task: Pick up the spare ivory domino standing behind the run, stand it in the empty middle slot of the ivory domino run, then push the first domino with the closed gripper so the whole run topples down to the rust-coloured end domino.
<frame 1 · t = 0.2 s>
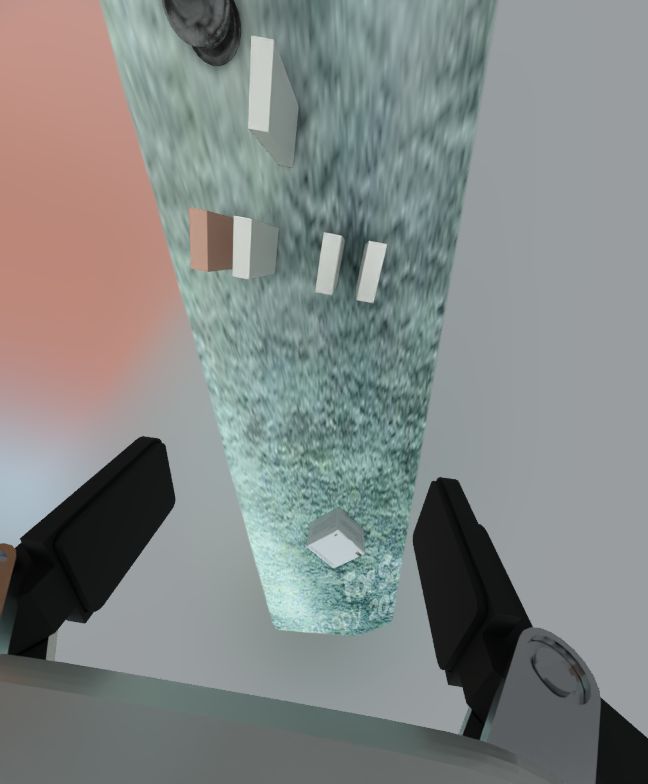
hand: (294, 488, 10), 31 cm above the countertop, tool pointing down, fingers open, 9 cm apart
domino 1: (366, 268, 35), on the countertop
domino 2: (334, 262, 35), on the countertop
domino 4: (270, 250, 35), on the countertop
dark grey ornamental finial: (214, 28, 27), on the countertop
end domino: (238, 244, 35), on the countertop
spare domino: (288, 136, 30), on the countertop
small box: (336, 525, 55), on the countertop
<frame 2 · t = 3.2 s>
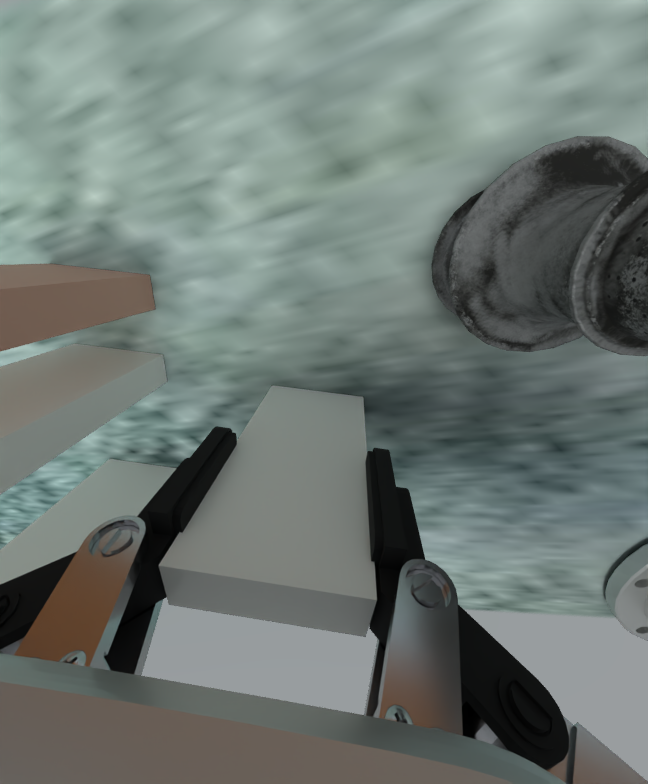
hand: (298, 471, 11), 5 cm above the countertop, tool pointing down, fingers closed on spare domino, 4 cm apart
domino 2: (147, 473, 19), on the countertop
domino 4: (121, 362, 16), on the countertop
dark grey ornamental finial: (495, 258, 12), on the countertop
end domino: (103, 286, 14), on the countertop
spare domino: (316, 403, 16), on the countertop, touching gripper
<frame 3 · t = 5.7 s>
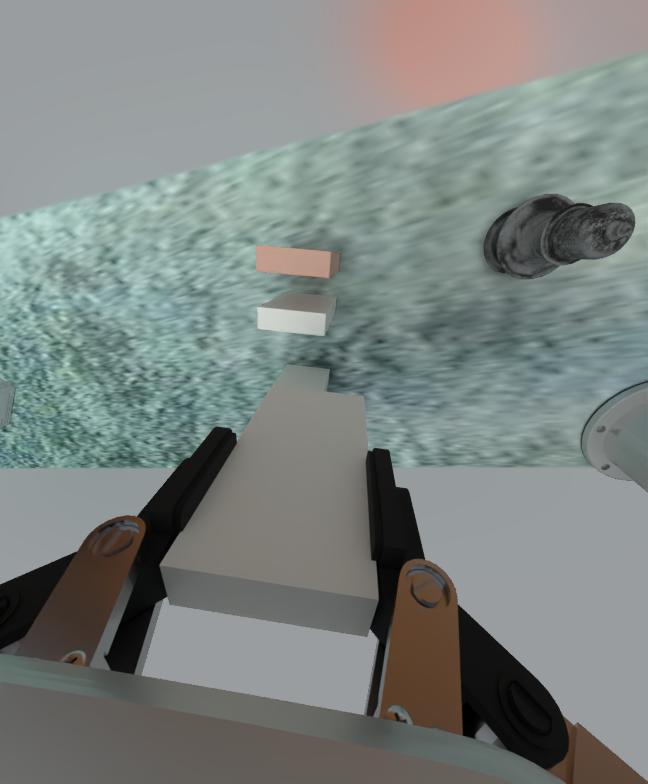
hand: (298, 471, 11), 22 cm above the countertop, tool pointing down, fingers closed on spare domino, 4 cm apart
domino 2: (308, 373, 33), on the countertop
domino 4: (312, 302, 30), on the countertop
dark grey ornamental finial: (514, 241, 25), on the countertop
end domino: (314, 260, 28), on the countertop
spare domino: (316, 403, 16), point 17 cm above the countertop, touching gripper
when the fingers open (6 cm above the countertop, at t = 8.3 s): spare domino stays where it is, on the countertop.
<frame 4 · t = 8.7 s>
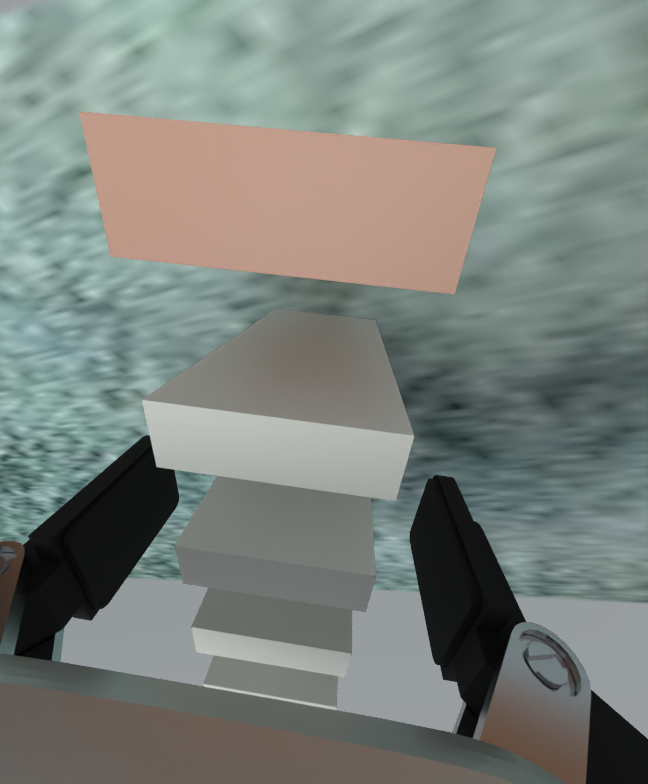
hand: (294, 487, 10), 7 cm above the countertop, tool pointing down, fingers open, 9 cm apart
domino 1: (307, 500, 20), on the countertop
domino 2: (311, 454, 18), on the countertop
domino 4: (323, 330, 14), on the countertop
end domino: (332, 241, 13), on the countertop
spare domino: (317, 399, 16), on the countertop
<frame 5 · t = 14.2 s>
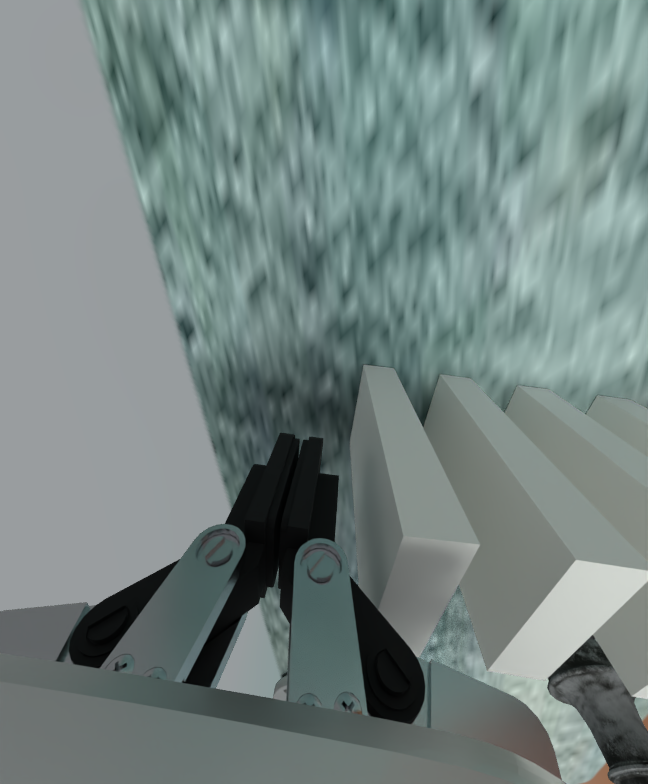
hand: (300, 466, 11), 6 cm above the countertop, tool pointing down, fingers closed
domino 1: (370, 407, 16), on the countertop, touching gripper
domino 2: (441, 417, 16), on the countertop
domino 4: (588, 437, 15), on the countertop
dark grey ornamental finial: (559, 626, 23), on the countertop
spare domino: (513, 427, 16), on the countertop
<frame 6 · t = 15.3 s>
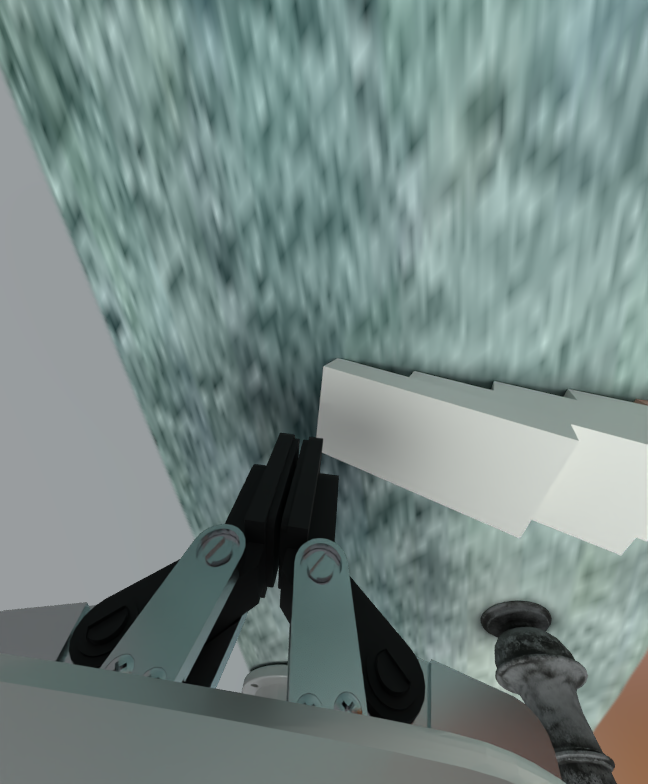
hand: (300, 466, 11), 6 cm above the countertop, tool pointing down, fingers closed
domino 1: (326, 405, 15), point 1 cm above the countertop, tilted 66°
domino 2: (400, 418, 15), point 1 cm above the countertop, tilted 66°, touching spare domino
domino 4: (550, 436, 15), point 1 cm above the countertop, tilted 71°, touching end domino, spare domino
dark grey ornamental finial: (513, 616, 23), on the countertop
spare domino: (477, 428, 15), point 1 cm above the countertop, tilted 66°, touching domino 2, domino 4
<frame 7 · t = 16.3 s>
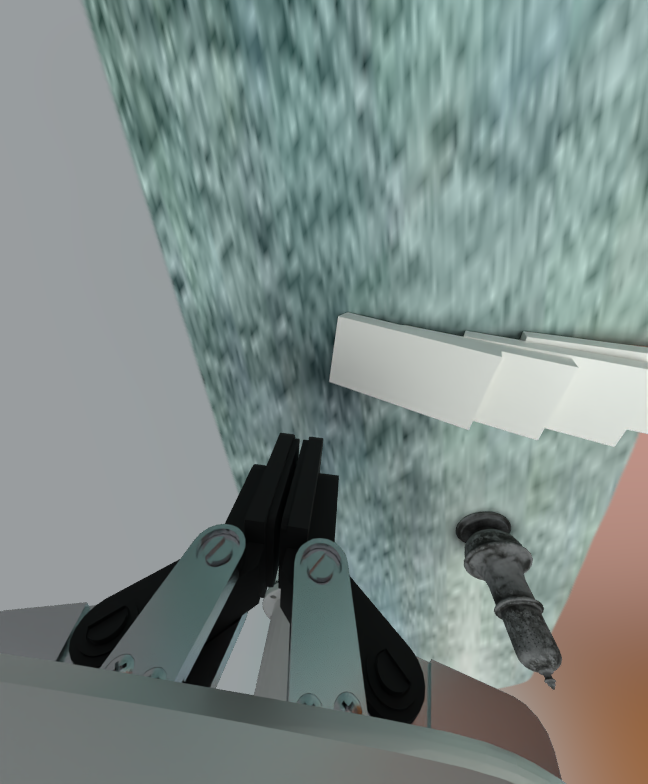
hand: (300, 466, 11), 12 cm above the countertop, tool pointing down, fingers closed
domino 1: (338, 347, 21), point 1 cm above the countertop, tilted 68°, touching domino 2
domino 2: (393, 360, 21), point 1 cm above the countertop, tilted 68°, touching domino 1
domino 4: (511, 367, 20), point 1 cm above the countertop, tilted 71°, touching end domino
dark grey ornamental finial: (481, 527, 30), on the countertop
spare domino: (454, 366, 21), point 1 cm above the countertop, tilted 68°
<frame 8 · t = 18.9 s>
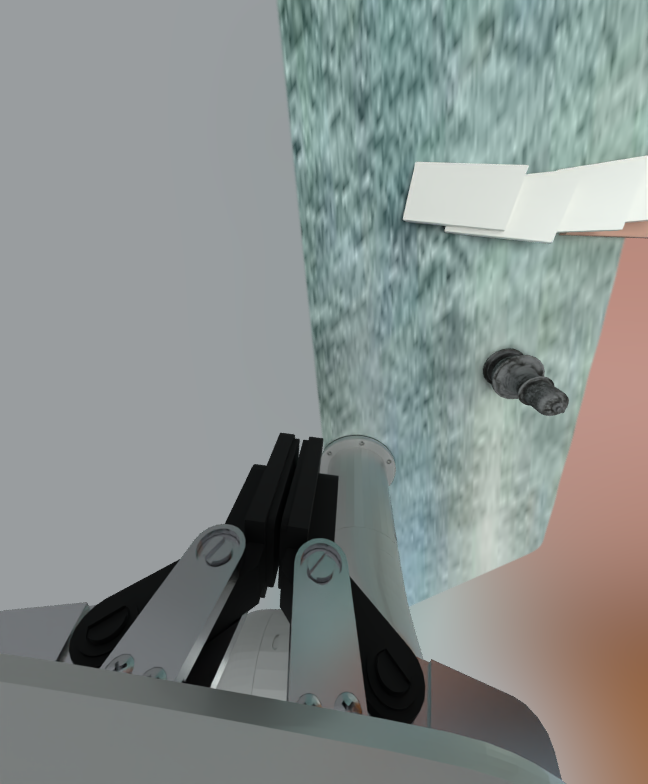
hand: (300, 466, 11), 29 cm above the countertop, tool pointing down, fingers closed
domino 1: (410, 193, 30), point 1 cm above the countertop, tilted 69°, touching domino 2
domino 2: (452, 205, 30), point 1 cm above the countertop, tilted 69°, touching domino 1, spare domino
domino 4: (548, 201, 29), point 1 cm above the countertop, tilted 67°, touching end domino, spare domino
dark grey ornamental finial: (503, 367, 38), on the countertop
end domino: (571, 207, 30), on the countertop, tilted 90°, touching domino 4
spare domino: (503, 207, 30), point 1 cm above the countertop, tilted 67°, touching domino 2, domino 4
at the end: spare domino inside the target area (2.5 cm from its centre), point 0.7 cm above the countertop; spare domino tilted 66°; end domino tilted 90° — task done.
